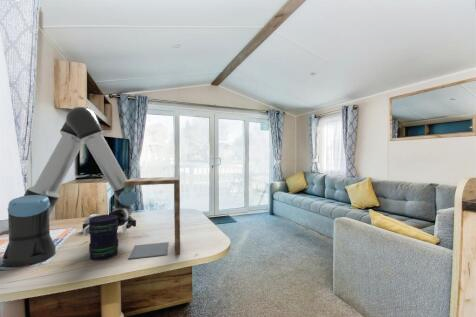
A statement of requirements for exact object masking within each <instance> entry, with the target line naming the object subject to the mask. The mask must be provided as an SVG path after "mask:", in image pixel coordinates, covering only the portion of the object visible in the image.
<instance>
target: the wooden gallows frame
mask: <svg viewBox="0 0 476 317" xmlns="http://www.w3.org/2000/svg"><path fill="white" fill-rule="evenodd" d="M152 185H154V186H155V185H173V189H174V190H173V195H174V196H173V206H174V207H173V211H174V212H173V213H174V255H175V256H176V255H181V216H180V215H181V210H180V209H181V207H180V205H181V204H180V202H181V201H180V200H181V198H180V197H181V196H180V194H181V190H180V176H161V177H131V178H129V179H127V181H124V194H128V193H129V192H131V191H132V190H135V189H136V186H152Z"/></svg>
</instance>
